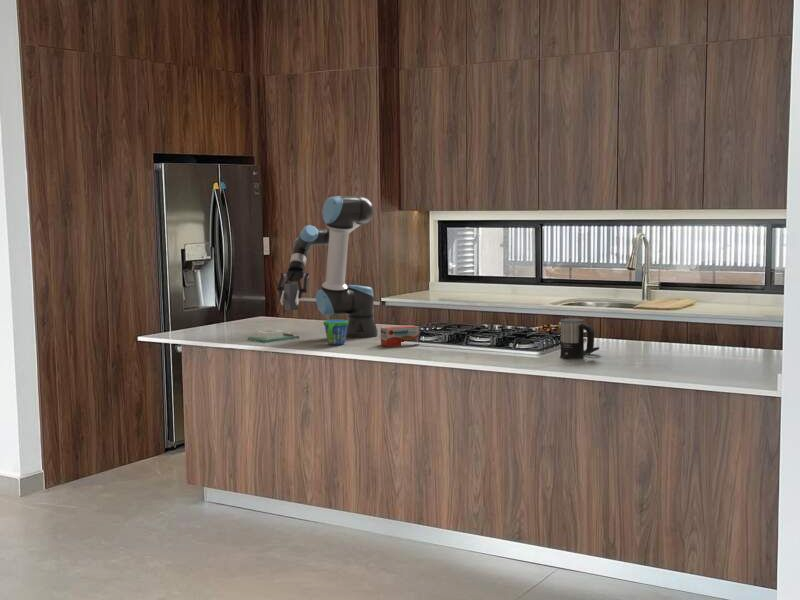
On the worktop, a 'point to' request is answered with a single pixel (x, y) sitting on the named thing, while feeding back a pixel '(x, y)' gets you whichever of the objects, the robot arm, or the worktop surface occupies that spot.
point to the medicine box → (398, 335)
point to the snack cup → (336, 331)
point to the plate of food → (551, 327)
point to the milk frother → (576, 339)
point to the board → (272, 336)
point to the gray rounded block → (290, 296)
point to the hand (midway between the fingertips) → (289, 303)
